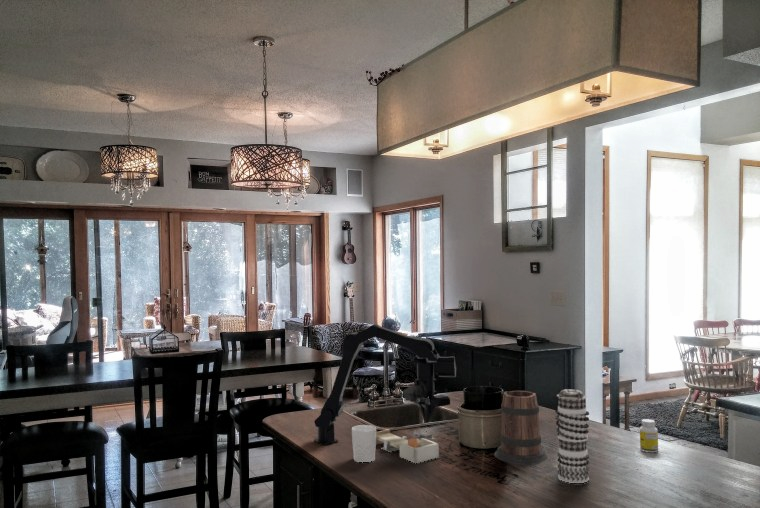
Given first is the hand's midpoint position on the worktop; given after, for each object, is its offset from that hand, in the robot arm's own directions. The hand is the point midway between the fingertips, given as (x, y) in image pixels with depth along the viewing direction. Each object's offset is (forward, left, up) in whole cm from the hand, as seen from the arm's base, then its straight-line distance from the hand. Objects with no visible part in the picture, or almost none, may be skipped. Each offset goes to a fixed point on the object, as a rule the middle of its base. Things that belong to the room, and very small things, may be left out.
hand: (426, 422), depth 199 cm
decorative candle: (+48, +14, -9) cm, 51 cm away
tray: (+7, -9, -8) cm, 14 cm away
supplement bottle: (+47, +55, -9) cm, 73 cm away
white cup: (-2, -24, -9) cm, 26 cm away
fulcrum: (-6, -9, -8) cm, 13 cm away
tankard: (+23, +21, -9) cm, 33 cm away
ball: (+4, -9, -5) cm, 11 cm away
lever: (-6, -5, -6) cm, 10 cm away
